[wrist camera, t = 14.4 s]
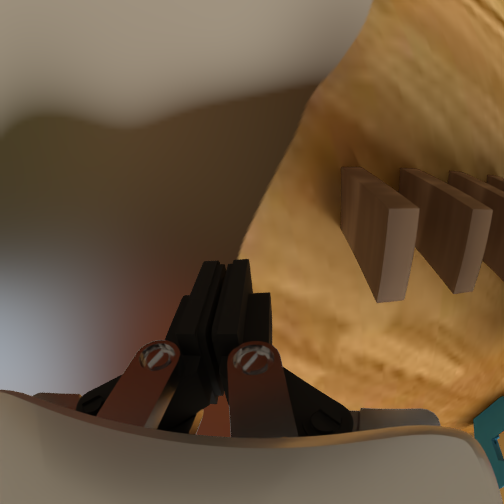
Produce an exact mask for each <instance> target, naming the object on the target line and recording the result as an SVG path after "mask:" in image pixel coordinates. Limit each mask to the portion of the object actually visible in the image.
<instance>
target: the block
mask: <svg viewBox="0 0 504 504" xmlns="http://www.w3.org/2000/svg"><path fill="white" fill-rule="evenodd" d="M473 422H474V436H475V439H476V440H477V441H478V442H479V444H480V445H481V447H482V448H483V450H484V451H485V453H486V455H487V457H488V459H489V462H490V464H491V466H492V469H493V471H494V474H495V477H496V480H497V483H498V487H499V489H500V488H502V487H503V486H504V459H503V456H502V453H501V450H500V447H499V444H498V441H497V439H498V438H499V434H500V433H501V432H503V431H504V397H503V396H502V397H500V398H499V399H497V400H496V401H495V402H494V403H493V404H492V405H490V406H489V407H488V408H487V409H486V410H484V411H483V412H482V413H481V414H479V415H478V416H477V417H475V418H474V419H473Z"/></svg>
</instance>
